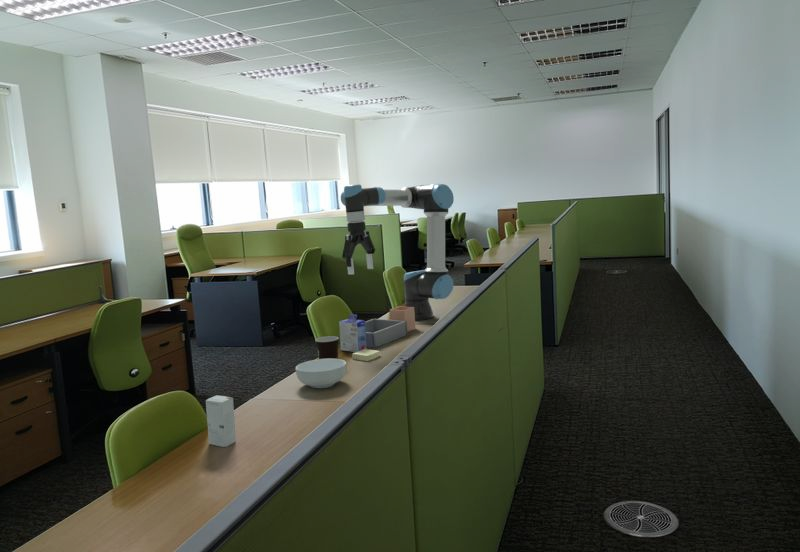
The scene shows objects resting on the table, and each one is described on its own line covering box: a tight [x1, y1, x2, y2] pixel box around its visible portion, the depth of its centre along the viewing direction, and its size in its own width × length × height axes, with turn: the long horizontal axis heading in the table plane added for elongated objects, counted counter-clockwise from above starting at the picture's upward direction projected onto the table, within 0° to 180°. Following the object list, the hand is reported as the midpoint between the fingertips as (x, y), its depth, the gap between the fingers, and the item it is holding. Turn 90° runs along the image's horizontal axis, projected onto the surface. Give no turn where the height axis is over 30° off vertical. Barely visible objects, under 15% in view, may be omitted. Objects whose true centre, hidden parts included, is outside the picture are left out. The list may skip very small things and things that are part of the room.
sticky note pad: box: [351, 348, 381, 362], centre depth 238 cm, size 8×8×2 cm
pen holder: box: [389, 305, 417, 333], centre depth 281 cm, size 8×8×10 cm
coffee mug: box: [314, 335, 340, 359], centre depth 232 cm, size 12×9×10 cm
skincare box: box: [205, 394, 237, 448], centre depth 162 cm, size 6×4×12 cm
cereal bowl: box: [295, 358, 348, 389], centre depth 207 cm, size 17×17×7 cm
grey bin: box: [365, 318, 408, 349], centre depth 267 cm, size 24×18×6 cm
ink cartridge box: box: [338, 313, 368, 353], centre depth 250 cm, size 10×6×14 cm, turn 55°
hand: (361, 271), depth 264 cm, fingers open, 13 cm apart
